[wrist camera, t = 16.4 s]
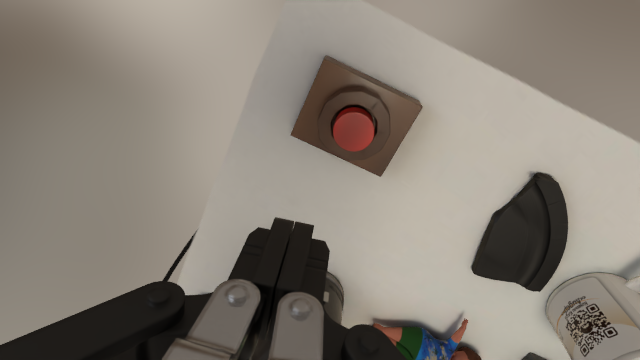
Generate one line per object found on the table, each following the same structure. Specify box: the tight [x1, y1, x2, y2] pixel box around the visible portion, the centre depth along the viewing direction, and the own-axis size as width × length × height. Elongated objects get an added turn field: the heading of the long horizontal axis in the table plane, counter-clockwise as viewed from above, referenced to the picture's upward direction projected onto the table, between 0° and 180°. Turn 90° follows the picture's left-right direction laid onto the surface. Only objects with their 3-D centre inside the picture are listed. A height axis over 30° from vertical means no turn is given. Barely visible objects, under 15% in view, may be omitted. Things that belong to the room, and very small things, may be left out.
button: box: [333, 107, 374, 151], centre depth 33 cm, size 4×4×2 cm
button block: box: [291, 56, 422, 177], centre depth 35 cm, size 10×8×4 cm
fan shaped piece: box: [472, 173, 568, 292], centre depth 40 cm, size 8×14×2 cm, turn 170°
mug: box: [546, 273, 640, 360], centre depth 39 cm, size 10×12×11 cm
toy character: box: [373, 319, 481, 360], centre depth 48 cm, size 12×5×15 cm
